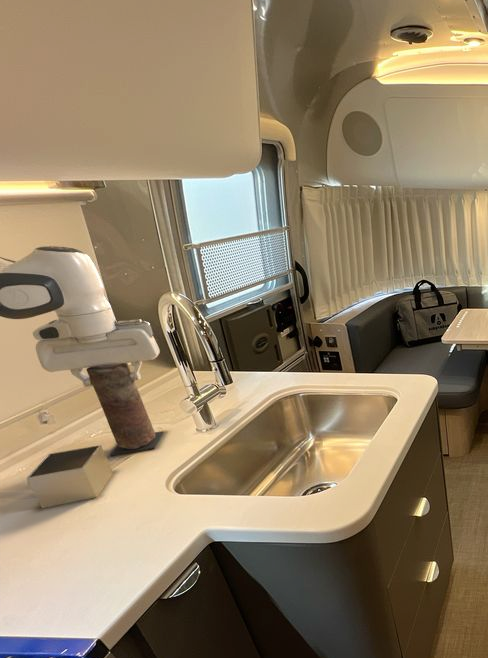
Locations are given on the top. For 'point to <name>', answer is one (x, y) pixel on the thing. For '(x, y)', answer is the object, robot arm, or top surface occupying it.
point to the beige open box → (70, 476)
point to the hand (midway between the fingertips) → (113, 382)
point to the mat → (150, 445)
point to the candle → (122, 405)
